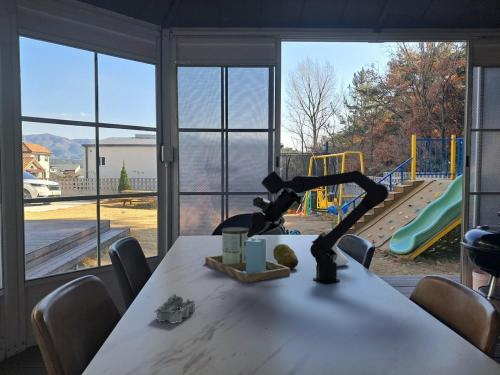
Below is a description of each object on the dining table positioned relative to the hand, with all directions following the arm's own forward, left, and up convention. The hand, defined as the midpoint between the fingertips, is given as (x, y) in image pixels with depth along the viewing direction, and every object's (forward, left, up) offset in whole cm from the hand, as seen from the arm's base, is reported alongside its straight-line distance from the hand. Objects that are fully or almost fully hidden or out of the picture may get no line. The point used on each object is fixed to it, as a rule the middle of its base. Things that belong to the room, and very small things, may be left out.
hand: (253, 235), depth 139 cm
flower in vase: (-5, -33, -14) cm, 37 cm away
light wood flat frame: (+7, -1, -13) cm, 15 cm away
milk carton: (-1, -1, -14) cm, 14 cm away
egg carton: (-24, +38, -14) cm, 47 cm away
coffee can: (+14, -1, -14) cm, 20 cm away
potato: (+2, -16, -14) cm, 21 cm away
